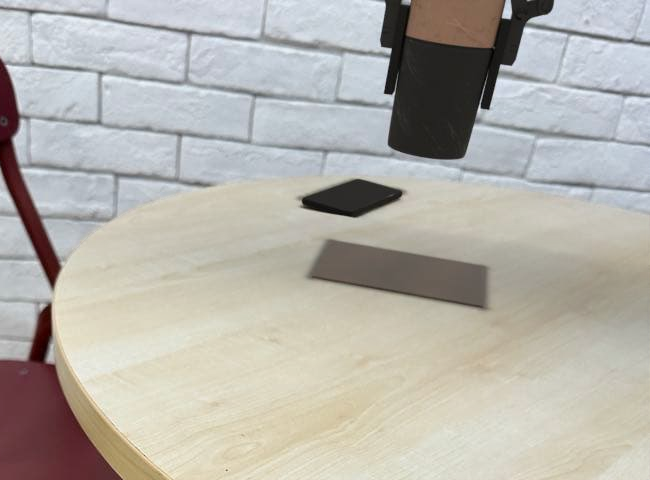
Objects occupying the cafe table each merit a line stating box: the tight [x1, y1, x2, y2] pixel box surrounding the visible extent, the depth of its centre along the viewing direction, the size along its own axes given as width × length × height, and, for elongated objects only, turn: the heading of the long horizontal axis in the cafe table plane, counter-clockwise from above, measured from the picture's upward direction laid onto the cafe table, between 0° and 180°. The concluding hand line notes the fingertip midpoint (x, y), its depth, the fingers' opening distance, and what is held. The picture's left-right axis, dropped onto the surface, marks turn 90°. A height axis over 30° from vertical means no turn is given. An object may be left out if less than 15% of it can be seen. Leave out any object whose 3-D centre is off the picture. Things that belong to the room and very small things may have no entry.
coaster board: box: [311, 239, 485, 309], centre depth 83 cm, size 16×12×1 cm
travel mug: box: [387, 0, 507, 161], centre depth 71 cm, size 8×8×20 cm
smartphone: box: [301, 178, 403, 218], centre depth 105 cm, size 7×1×15 cm
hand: (436, 99), depth 74 cm, fingers closed on travel mug, 8 cm apart
